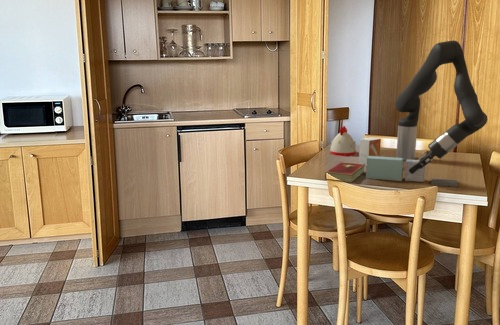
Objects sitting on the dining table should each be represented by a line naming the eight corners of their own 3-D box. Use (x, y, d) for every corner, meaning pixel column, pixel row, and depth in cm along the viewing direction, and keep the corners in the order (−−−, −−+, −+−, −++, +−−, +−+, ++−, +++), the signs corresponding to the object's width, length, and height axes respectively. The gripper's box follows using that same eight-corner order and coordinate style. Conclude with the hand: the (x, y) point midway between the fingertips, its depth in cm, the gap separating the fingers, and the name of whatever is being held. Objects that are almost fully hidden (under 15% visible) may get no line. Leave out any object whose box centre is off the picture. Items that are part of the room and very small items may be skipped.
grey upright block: (424, 179, 206) (425, 160, 204) (424, 182, 202) (425, 162, 200) (405, 178, 209) (406, 159, 207) (404, 181, 205) (406, 161, 203)
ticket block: (367, 175, 215) (368, 155, 213) (402, 178, 210) (403, 157, 208) (366, 178, 210) (366, 157, 208) (401, 180, 205) (403, 160, 203)
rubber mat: (431, 179, 206) (431, 178, 206) (456, 181, 203) (456, 180, 203) (431, 185, 198) (431, 183, 198) (457, 187, 195) (457, 185, 195)
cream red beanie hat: (325, 154, 260) (326, 126, 257) (336, 149, 272) (337, 123, 268) (349, 157, 253) (350, 129, 249) (359, 152, 264) (360, 125, 260)
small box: (368, 166, 231) (369, 140, 228) (358, 164, 236) (359, 138, 233) (379, 164, 235) (381, 138, 232) (370, 162, 240) (371, 136, 237)
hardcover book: (324, 180, 209) (325, 171, 208) (339, 170, 227) (339, 161, 226) (351, 183, 204) (352, 174, 203) (364, 172, 222) (364, 163, 221)
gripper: (436, 135, 205) (405, 160, 212) (436, 141, 192) (403, 168, 199) (448, 148, 205) (417, 173, 212) (449, 155, 192) (415, 181, 199)
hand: (410, 170), depth 205 cm, fingers closed on grey upright block, 4 cm apart
